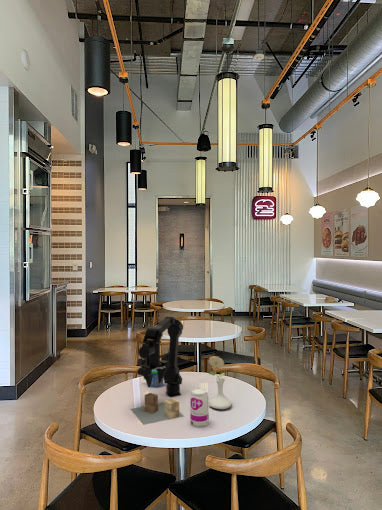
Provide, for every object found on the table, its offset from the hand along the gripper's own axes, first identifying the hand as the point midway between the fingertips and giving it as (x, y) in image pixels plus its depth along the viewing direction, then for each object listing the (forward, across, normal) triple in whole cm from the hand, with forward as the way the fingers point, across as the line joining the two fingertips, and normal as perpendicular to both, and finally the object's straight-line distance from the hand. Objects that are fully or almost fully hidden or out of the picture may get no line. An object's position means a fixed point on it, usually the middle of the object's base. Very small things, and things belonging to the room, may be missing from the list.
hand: (154, 385), depth 189 cm
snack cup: (+12, -28, -22) cm, 37 cm away
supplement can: (+12, +2, +28) cm, 31 cm away
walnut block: (+11, +4, +1) cm, 12 cm away
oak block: (+11, +2, +13) cm, 17 cm away
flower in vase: (+12, -21, +25) cm, 34 cm away
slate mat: (+12, +3, +4) cm, 13 cm away
